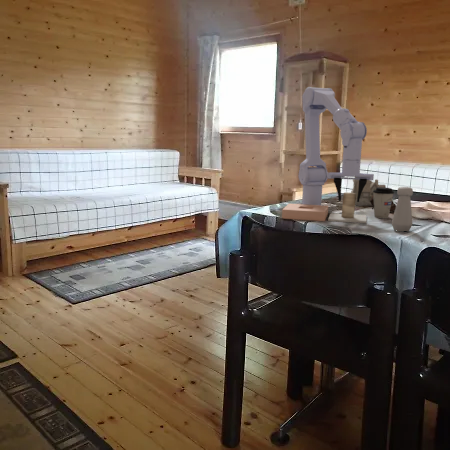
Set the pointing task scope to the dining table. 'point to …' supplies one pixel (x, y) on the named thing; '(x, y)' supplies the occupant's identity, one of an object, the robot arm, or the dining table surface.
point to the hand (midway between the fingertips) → (348, 201)
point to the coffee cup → (382, 201)
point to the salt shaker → (403, 210)
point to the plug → (348, 205)
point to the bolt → (392, 208)
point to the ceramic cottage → (365, 191)
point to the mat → (341, 219)
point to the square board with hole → (305, 212)
